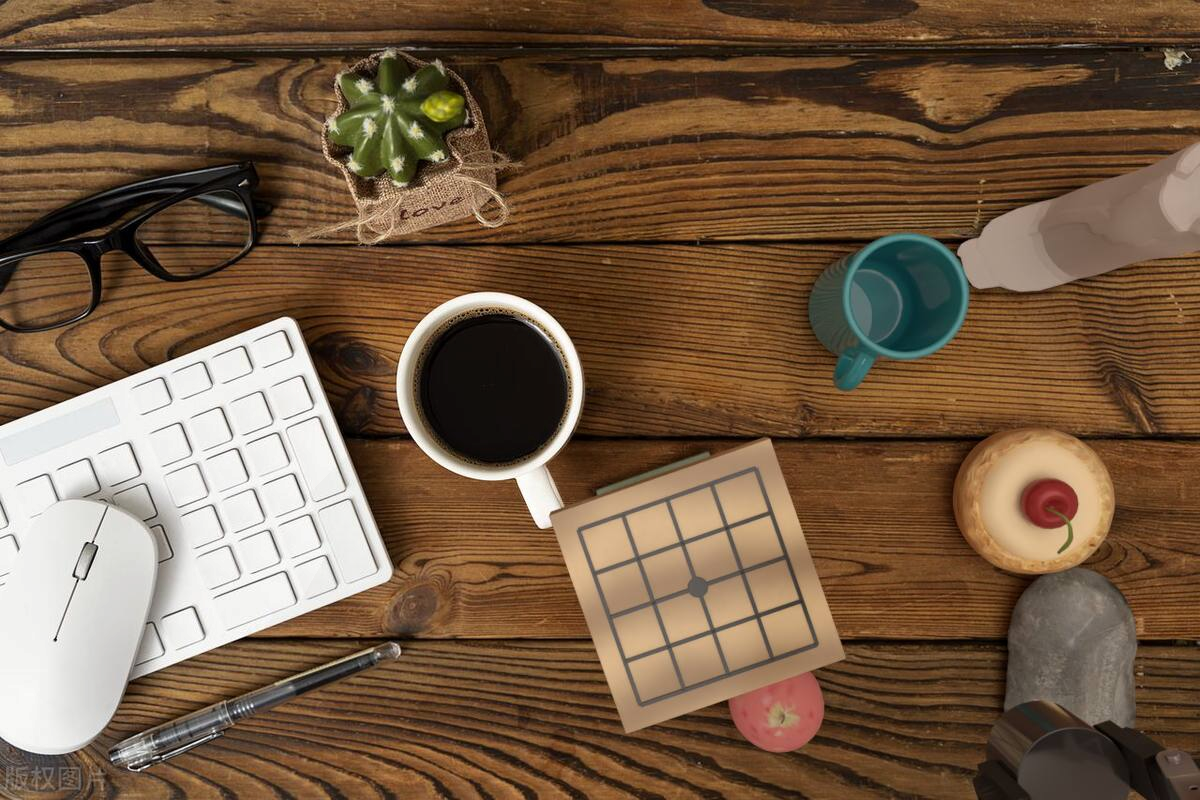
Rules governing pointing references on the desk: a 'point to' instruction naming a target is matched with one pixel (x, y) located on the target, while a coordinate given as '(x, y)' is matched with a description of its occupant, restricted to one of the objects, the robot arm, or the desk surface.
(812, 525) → the desk surface
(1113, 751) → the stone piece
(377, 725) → the desk surface
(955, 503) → the pastry
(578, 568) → the board
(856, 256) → the cup
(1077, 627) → the stone
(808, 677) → the apple
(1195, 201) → the beige tapered piece
